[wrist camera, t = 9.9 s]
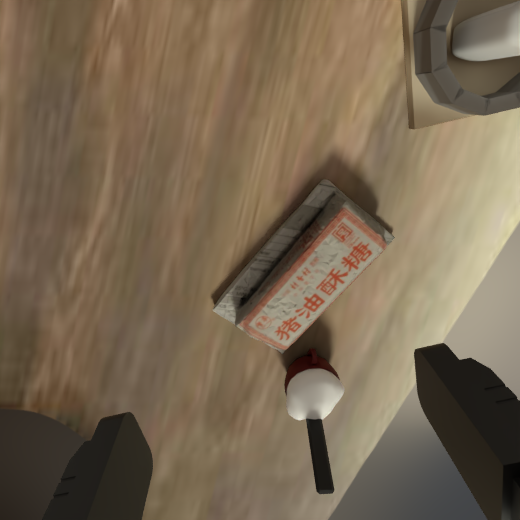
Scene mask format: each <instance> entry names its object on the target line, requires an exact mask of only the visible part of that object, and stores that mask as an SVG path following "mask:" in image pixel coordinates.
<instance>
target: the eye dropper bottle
mask: <svg viewBox="0 0 520 520" xmlns="http://www.w3.org/2000/svg"><path fill="white" fill-rule="evenodd" d="M452 54H453V55H454V56H456V57H458V58H460V59H464V60H468V61H487V60H494V59H500V58H506V57H513V56H519V55H520V0H519V1H516V2H513V3H511V4H508V5H505V6H502V7H499V8H496V9H493V10H490V11H488V12H485V13H482V14H479V15H476V16H473V17H471V18H469V19H467V20H465V21H463V22H461V23H459V24H458V25H457V26H456V27H455V29H454V32H453V40H452Z"/></svg>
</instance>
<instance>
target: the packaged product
mask: <svg viewBox="0 0 520 520" xmlns="http://www.w3.org/2000/svg"><path fill="white" fill-rule="evenodd" d="M394 238H395V237H394V236H393V235H392V234H390V233H389V232H388V231H387V230H386V229H385V228H384V227H383V226H382V225H380V224H379V223H378V222H377V221H376V220H375V219H374V218H373V217H372V216H370V215H369V214H368V213H367V212H365V211H364V210H363V209H362V208H361V207H359V206H358V205H357V204H356V203H354V202H353V201H352V200H351V199H349V198H348V197H347V196H346V195H345V194H344V193H342V192H341V191H340V190H339V189H338V188H337V187H336V186H335V185H334V184H332V183H331V182H330V181H329V180H327V179H322V180H321V181H320V183H319V184H318V185H317V186H316V187H315V188H314V190H313V191H312V192H311V193H310V194H309V196H308V197H307V198H306V199H305V201H304V202H303V203H302V204H301V205H300V206H299V207H298V208H297V209H296V210H295V211H294V212H293V213H292V214H291V216H290V217H289V218H288V219H287V220H286V221H285V222H284V223H283V224H282V225H281V226H280V228H279V229H278V230H277V231H276V232H275V233H274V234H273V236H272V237H271V238H270V239H269V240H268V241H267V242H266V243H265V245H264V246H263V247H262V248H261V249H260V250H259V251H258V252H257V254H256V255H255V256H254V257H253V258H252V259H251V261H250V262H249V263H248V264H247V265H246V266H245V268H244V269H243V270H242V271H241V272H240V274H239V275H238V276H237V277H236V278H235V280H234V281H233V282H232V283H231V285H230V286H229V287H228V288H227V289H226V291H225V292H224V293H223V294H222V296H221V297H220V298H219V300H218V301H217V303H216V304H215V306H214V308H213V311H214V312H216V313H217V314H219V315H220V316H222V317H223V318H225V319H227V320H229V321H230V322H232V323H233V324H235V326H236V327H239V328H240V329H241V330H242V331H244V332H245V333H246V334H248V335H249V336H250V337H251V338H254V339H256V340H258V341H259V340H261V341H262V342H264V343H266V344H267V345H269V346H271V347H272V348H274V349H277V350H278V351H279V352H281V353H282V354H283V353H284V351H285V350H286V349H288V348H289V347H290V346H291V345H292V344H293V343H294V342H295V341H296V340H297V339H298V338H299V337H300V336H301V335H302V334H303V333H304V332H305V331H306V330H307V329H308V328H309V327H310V326H311V325H312V324H313V323H314V321H315V320H316V319H317V318H318V317H319V316H320V315H321V314H322V313H323V312H324V311H325V310H326V309H327V308H328V307H329V306H330V305H331V304H332V303H333V302H334V301H335V300H336V299H337V298H338V297H339V296H340V295H341V294H342V293H343V292H344V291H345V290H346V289H347V288H348V287H349V286H350V285H351V283H352V282H353V281H354V280H355V279H356V278H357V277H358V276H359V275H360V274H361V273H362V272H363V271H364V270H365V269H366V268H367V267H368V266H369V265H370V264H371V263H372V262H373V261H374V260H375V259H376V258H377V257H378V256H379V255H380V254H381V253H382V252H383V251H384V250H385V248H386V247H387V246H388V244H389V243H390V242H391V241H392V240H393V239H394Z"/></svg>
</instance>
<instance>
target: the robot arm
mask: <svg viewBox="0 0 520 520" xmlns="http://www.w3.org/2000/svg"><path fill="white" fill-rule="evenodd" d="M414 358H415V370H416V381H417V392H418V397H419V400H420V404H421V407H422V409H423V411H424V413H425V415H426V417H427V419H428V420H429V422H430V424H431V425H432V427H433V429H434V430H435V432H436V434H437V435H438V437H439V439H440V441H441V442H442V444H443V446H444V447H445V449H446V451H447V452H448V454H449V455H450V457H451V459H452V461H453V462H454V464H455V466H456V467H457V469H458V471H459V472H460V474H461V476H462V477H463V479H464V481H465V483H466V484H467V486H468V487H469V489H470V491H471V493H472V494H473V496H474V498H475V499H476V501H477V503H478V504H479V506H480V508H481V509H482V511H483V513H484V514H485V516H486V518H487V519H488V520H520V401H519V400H518V399H517V397H516V395H515V394H514V393H513V392H512V391H511V390H510V389H509V388H508V387H506V386H505V384H504V383H503V382H502V381H501V379H499V377H497V375H496V374H495V373H494V372H493V371H492V370H491V369H490V368H488V367H486V366H484V365H482V364H481V363H479V362H477V361H476V360H474V359H472V358H467V359H462V360H459V359H458V358H457V357H456V355H455V354H454V353H453V352H452V351H451V350H450V348H449V347H448V346H447V345H446V344H444V343H441V344H436V345H432V346H427V347H423V348H418V349H415V352H414ZM152 470H153V460H152V454H151V450H150V448H149V446H148V444H147V441H146V439H145V437H144V435H143V433H142V431H141V429H140V427H139V425H138V423H137V421H136V419H135V417H134V415H133V414H132V413H131V412H127V413H122V414H118V415H113V416H109V417H104V418H102V419H101V420H100V422H99V423H98V426H97V428H96V430H95V433H94V435H93V437H92V440H90V441H86V442H84V443H83V445H82V446H81V447H80V448H79V449H78V451H77V452H76V453H75V454H74V456H73V457H72V458H71V459H70V461H69V463H68V465H67V467H66V469H65V472H64V474H63V476H62V478H61V483H59V485H58V487H57V489H56V491H55V493H54V495H53V496H54V499H52V500H51V502H50V504H49V506H48V508H47V510H46V512H45V514H44V517H43V519H42V520H141V519H142V515H143V511H144V506H145V502H146V498H147V493H148V489H149V485H150V480H151V476H152Z"/></svg>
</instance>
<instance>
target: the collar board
mask: <svg viewBox="0 0 520 520" xmlns="http://www.w3.org/2000/svg"><path fill="white" fill-rule="evenodd" d="M516 1H519V0H401V4H402V20H403V37H404V53H405V69H406V85H407V101H408V118H409V129H419V128H423V127H427V126H432V125H436V124H440V123H444V122H448V121H453V120H457V119H461V118H465V117H470V116H474V115H489V114H493V113H498V112H502V111H506V110H510V109H515V108H519V107H520V55H519V56H513V57H506V58H500V59H494V60H487V61H468V60H464V59H460V58H458V57H456V56H454V55H453V54H452V40H453V32H454V29H455V27H456V26H457V25H458V24H459V23H461V22H463V21H465V20H467V19H469V18H471V17H473V16H476V15H479V14H482V13H485V12H488V11H490V10H493V9H496V8H499V7H502V6H505V5H508V4H511V3H513V2H516Z"/></svg>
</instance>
